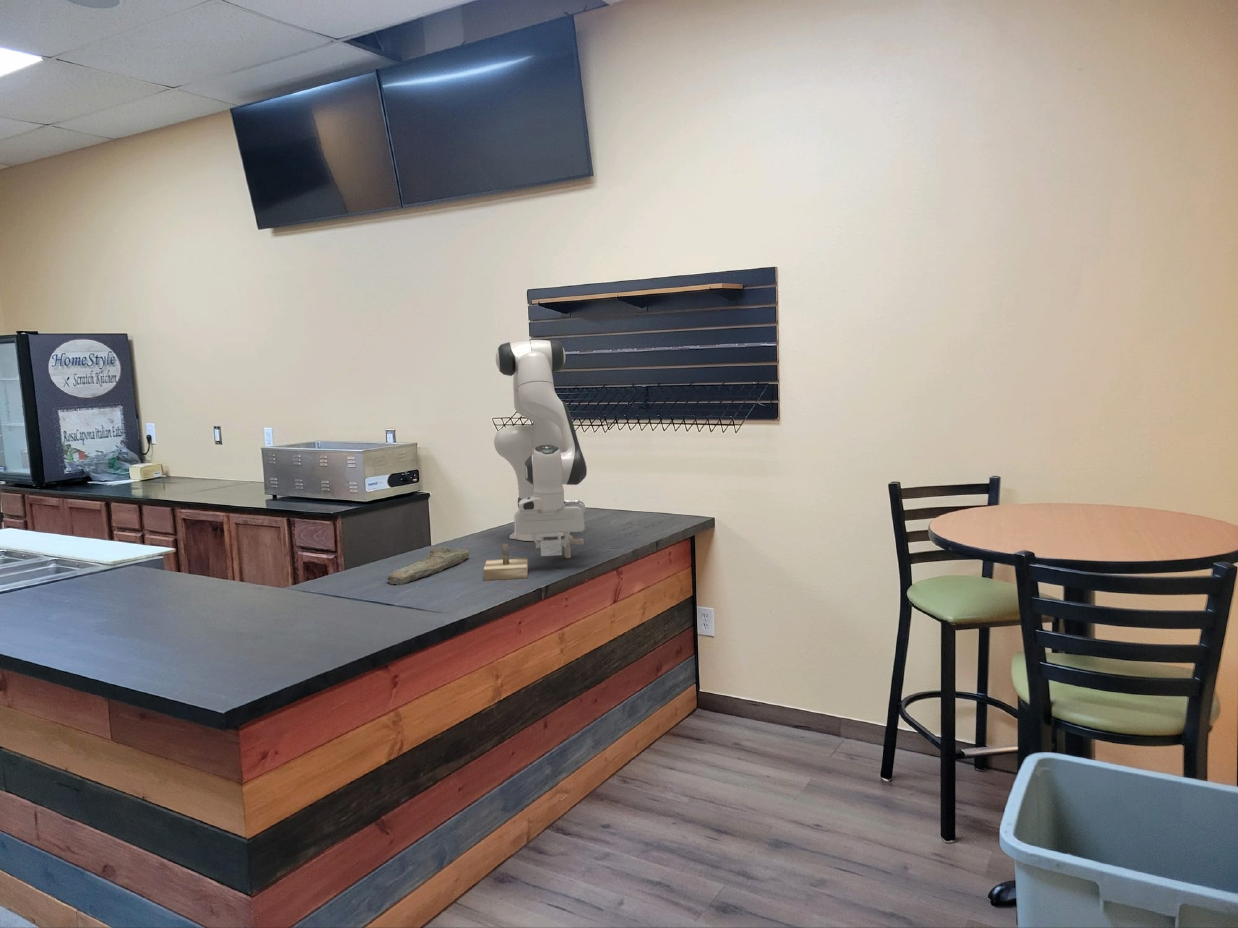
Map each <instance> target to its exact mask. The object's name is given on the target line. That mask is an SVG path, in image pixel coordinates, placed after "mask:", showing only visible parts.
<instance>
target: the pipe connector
mask: <svg viewBox="0 0 1238 928" xmlns="http://www.w3.org/2000/svg"><path fill="white" fill-rule="evenodd" d="M563 533H564V536H563V538H561V540H564V539H565V537H566V536H565V532H563ZM569 534H570V536H569V538H568V540H567V541H566V547H563V548H564V559H570V558H572V555H571V553H572V551H571V545H584V544H585V543H584V542H585V540H584V538H582V537H581V538H574V537H573V535H571V532H569Z"/></svg>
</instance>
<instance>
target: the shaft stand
mask: <svg viewBox="0 0 1238 928" xmlns="http://www.w3.org/2000/svg"><path fill="white" fill-rule="evenodd" d="M501 550H502V551H501V552H502V558H501V559H499V558H497V559H486V561H485V564H484V567H483V580H484V581H497V580H499V579H500V580H512V579H513V580H516V579H528V573H529V561H528V557H520V558H510V554H509V552H510V551H509V550H510V549H509V544H507V543H506V544H502V545H501Z"/></svg>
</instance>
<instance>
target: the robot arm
mask: <svg viewBox="0 0 1238 928" xmlns="http://www.w3.org/2000/svg"><path fill="white" fill-rule="evenodd" d="M565 363H566V352H565V348H564V347H563V344H562V342H560V341H559V340H555V339H549V340H544V339H529V340H522V341H516V342H505V343H502V344H499V346H498V347H497V351H496V354H495V364H496V367H497V368H498V370H499V373H501V374H502V375H504V376H509V377H512V376H513V379H512V381H513V383H512V387H513V404H514V405H513V407H514V409H515V412H516V413H518V414H519V415H520V416H521V417H523V418H526V419H528V420H530V421H532V423H533V424H528V425H527V424H526V425H525V424H524V425H511V426H507V427H502V428H500V429H498V431H497V432H496V434H495V436H494V440H493V444H494V448H495V451H496V453H497V454H498V455H499V456H500V457H502V458H503V459H505V460H506V461H507V462H508V464H510V465H511V467H512V468H513V470H514V472H515V475H516V480H517V486H518V498H517V508H518V510H517V511H516V512H515V514H514V517H513V520H514V521H513V522H514V532H512V533H511V534H510V535H509V539H510V540H518V541H526V542H534V543H535V549H536V550H537V549H541V543H540V538H541V537H542V536H561V537H564V532H565V536H566V537H565V539H564V538H563V539H564V540H561V548H564V547H566V541H567V540H568V538H569V536H570V535H571V533H579V532H583V531H584V530H585V528H586V526H585V518H584V514H585V512H586V505H585V503H584V502H583V501H581V500H579V499H574V500H572V499H571V500H568V499H567V500H566V499H565V493H564V491H565V490H564V486H563V485H567V486H568V485H569V486H571V485H572V486H577V485H579V484H580V483H582V481H583V480H585V478H586V477H587V474H588V473H587V471H588V470H587V469H588V468H587V467H588V466H587V462H586V460H585V457H584V454H583V452H582V449H581V446H580V442H579V438H578V435H577V431H576V429H575V426H574V422H573V419H572V415H571V412H570V410H569V407H568V405H567V404H566V402H565V401H563V400H561V398H560V397H558V395H557V393H556V391H555V384H554V377H553V374H554V373H558V372H560V371H562V369H563V368H564V366H565ZM569 532H570V534H569Z"/></svg>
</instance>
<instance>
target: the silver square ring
mask: <svg viewBox="0 0 1238 928" xmlns="http://www.w3.org/2000/svg"><path fill="white" fill-rule="evenodd" d="M561 539H562V536H542V537H541V538H540V543H541V548H540V557H550V556H562V555H563V551H562V548H563V547H561Z"/></svg>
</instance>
